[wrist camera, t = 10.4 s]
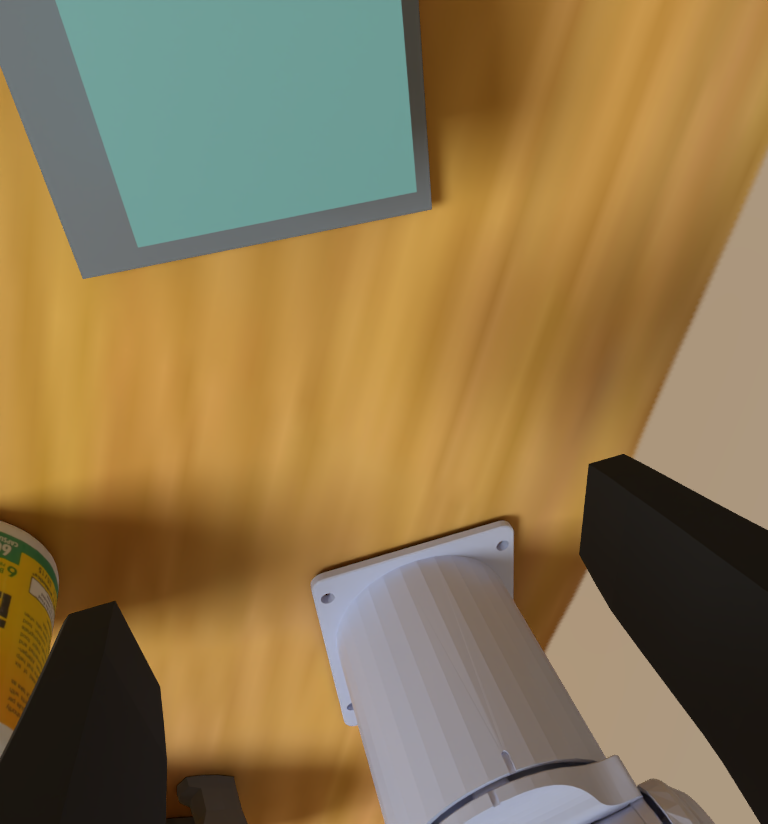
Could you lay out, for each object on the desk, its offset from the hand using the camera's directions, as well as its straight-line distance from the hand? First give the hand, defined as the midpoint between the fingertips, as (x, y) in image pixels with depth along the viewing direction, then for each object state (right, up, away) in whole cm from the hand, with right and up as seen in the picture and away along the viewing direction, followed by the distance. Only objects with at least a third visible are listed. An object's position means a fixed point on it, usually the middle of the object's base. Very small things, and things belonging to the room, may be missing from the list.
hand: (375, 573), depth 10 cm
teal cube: (-3, +10, +4) cm, 12 cm away
